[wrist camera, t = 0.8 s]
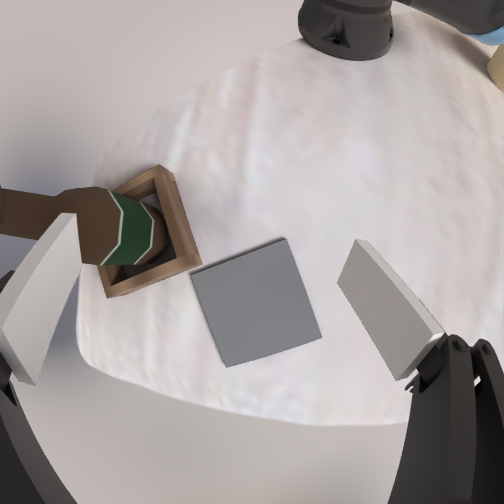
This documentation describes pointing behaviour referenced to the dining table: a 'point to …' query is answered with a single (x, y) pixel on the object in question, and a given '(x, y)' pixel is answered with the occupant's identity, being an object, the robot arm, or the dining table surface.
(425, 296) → the dining table surface
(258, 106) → the dining table surface
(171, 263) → the caddy
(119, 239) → the beer bottle
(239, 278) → the coaster
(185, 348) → the dining table surface
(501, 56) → the coffee cup
